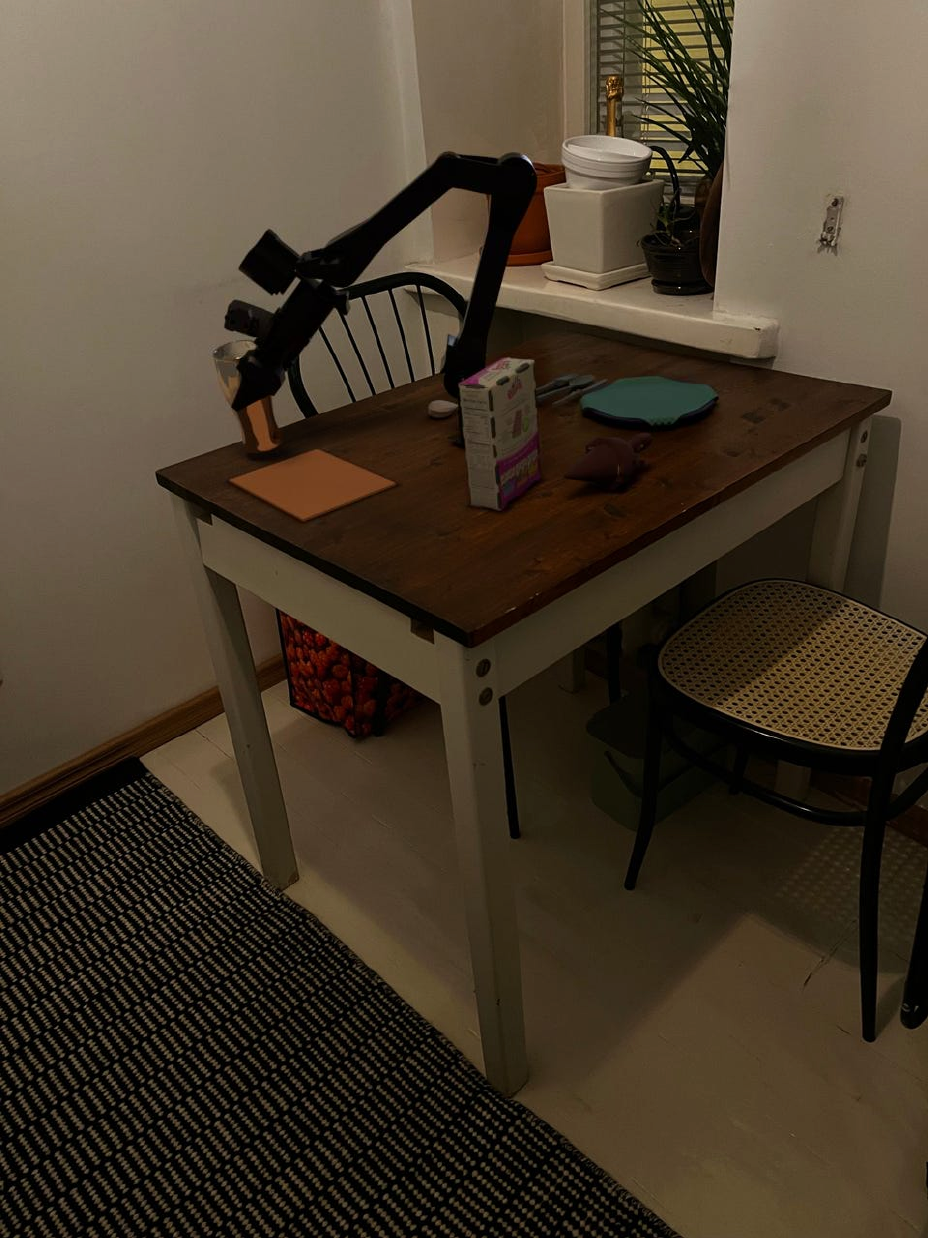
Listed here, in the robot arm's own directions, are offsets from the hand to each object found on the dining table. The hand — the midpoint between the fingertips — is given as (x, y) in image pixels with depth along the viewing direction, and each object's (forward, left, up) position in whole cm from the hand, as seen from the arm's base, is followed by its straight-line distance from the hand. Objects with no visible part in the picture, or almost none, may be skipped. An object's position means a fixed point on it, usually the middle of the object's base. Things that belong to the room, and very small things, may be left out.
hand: (239, 401), depth 139 cm
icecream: (-48, -26, -9) cm, 55 cm away
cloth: (-15, -1, -9) cm, 18 cm away
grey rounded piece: (-9, -30, -9) cm, 33 cm away
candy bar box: (-39, -16, -9) cm, 43 cm away
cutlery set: (-28, -51, -9) cm, 59 cm away
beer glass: (0, -2, -7) cm, 8 cm away
